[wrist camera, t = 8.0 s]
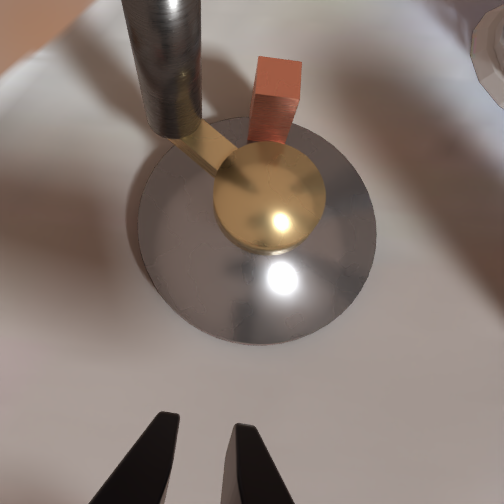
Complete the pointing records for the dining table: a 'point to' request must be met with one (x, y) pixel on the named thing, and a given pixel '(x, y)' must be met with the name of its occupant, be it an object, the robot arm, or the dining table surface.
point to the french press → (490, 53)
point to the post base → (248, 264)
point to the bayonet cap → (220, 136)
